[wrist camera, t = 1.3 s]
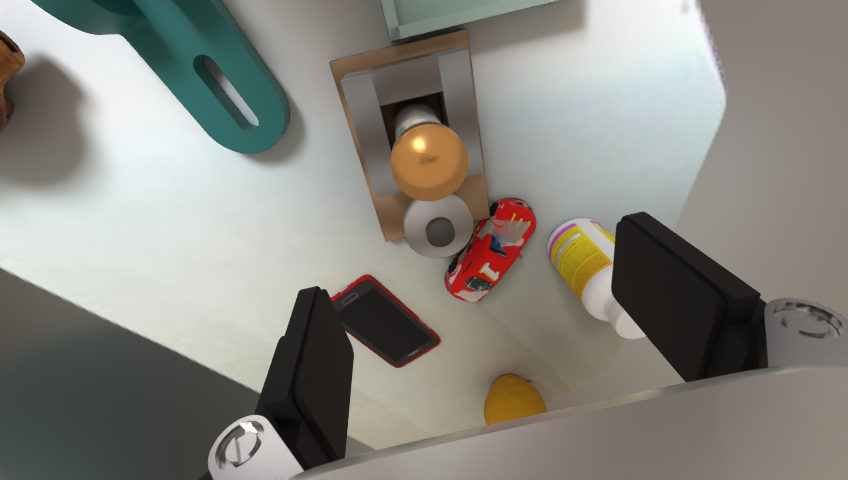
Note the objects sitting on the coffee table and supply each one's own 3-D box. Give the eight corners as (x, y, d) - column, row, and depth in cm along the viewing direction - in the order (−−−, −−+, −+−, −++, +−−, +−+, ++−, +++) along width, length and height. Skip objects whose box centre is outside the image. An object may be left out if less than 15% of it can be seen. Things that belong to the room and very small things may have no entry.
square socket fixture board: (331, 60, 29) (318, 71, 23) (463, 28, 29) (486, 30, 23) (385, 234, 38) (386, 277, 32) (486, 211, 38) (507, 249, 32)
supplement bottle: (540, 266, 43) (595, 351, 32) (549, 217, 39) (615, 293, 28) (594, 262, 43) (666, 343, 32) (608, 213, 40) (694, 286, 29)
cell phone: (368, 269, 41) (367, 275, 40) (442, 337, 48) (443, 342, 47) (318, 304, 43) (317, 310, 42) (397, 364, 50) (397, 370, 49)
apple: (465, 391, 54) (479, 451, 46) (501, 356, 50) (522, 414, 43) (507, 406, 57) (526, 464, 49) (544, 374, 54) (570, 431, 46)
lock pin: (381, 96, 30) (382, 137, 19) (433, 84, 29) (462, 118, 19) (394, 147, 32) (401, 208, 22) (442, 136, 32) (473, 192, 21)
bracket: (51, -72, 24) (-78, -109, 17) (128, -135, 23) (23, -200, 16) (245, 158, 33) (210, 194, 26) (306, 122, 32) (287, 149, 25)
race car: (501, 185, 37) (513, 202, 34) (540, 207, 39) (556, 225, 35) (435, 278, 42) (440, 300, 39) (472, 293, 44) (480, 316, 41)
